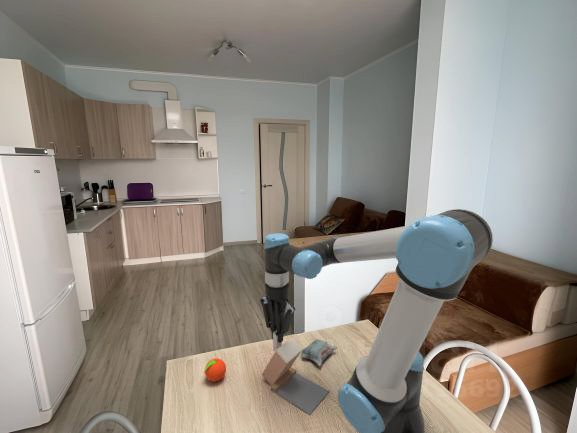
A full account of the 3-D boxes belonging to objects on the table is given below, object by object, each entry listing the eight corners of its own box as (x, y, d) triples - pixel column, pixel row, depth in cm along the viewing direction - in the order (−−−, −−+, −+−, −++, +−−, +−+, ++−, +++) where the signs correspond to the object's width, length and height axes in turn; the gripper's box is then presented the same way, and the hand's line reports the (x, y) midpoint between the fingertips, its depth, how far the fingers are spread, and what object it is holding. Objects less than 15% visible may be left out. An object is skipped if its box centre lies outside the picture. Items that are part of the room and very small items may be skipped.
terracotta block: (287, 372, 102) (303, 348, 95) (271, 386, 96) (288, 361, 89) (277, 361, 104) (292, 337, 98) (261, 374, 98) (276, 349, 91)
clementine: (210, 391, 94) (209, 372, 92) (198, 381, 98) (197, 362, 97) (230, 377, 100) (229, 359, 98) (218, 368, 104) (217, 350, 103)
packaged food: (336, 353, 112) (337, 342, 111) (319, 371, 103) (319, 358, 102) (317, 344, 117) (317, 333, 116) (299, 360, 108) (299, 348, 107)
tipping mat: (329, 391, 94) (329, 387, 93) (309, 415, 85) (309, 410, 85) (291, 371, 103) (291, 367, 102) (270, 390, 94) (270, 386, 94)
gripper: (300, 284, 91) (300, 351, 96) (269, 273, 99) (270, 336, 104) (285, 292, 86) (285, 363, 90) (253, 281, 93) (255, 347, 98)
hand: (277, 349), depth 97 cm, fingers closed
